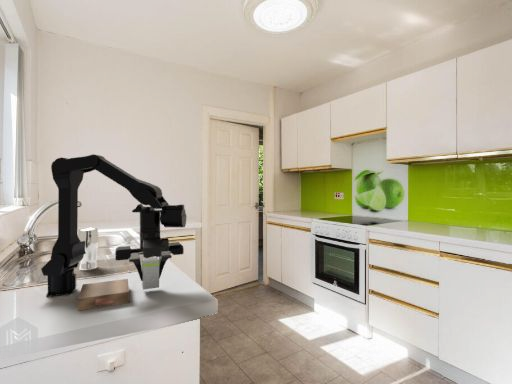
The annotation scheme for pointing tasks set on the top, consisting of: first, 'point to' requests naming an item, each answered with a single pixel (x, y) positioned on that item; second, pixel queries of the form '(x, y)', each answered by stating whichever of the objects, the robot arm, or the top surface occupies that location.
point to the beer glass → (89, 248)
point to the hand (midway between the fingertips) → (150, 279)
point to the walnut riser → (103, 294)
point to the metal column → (150, 273)
